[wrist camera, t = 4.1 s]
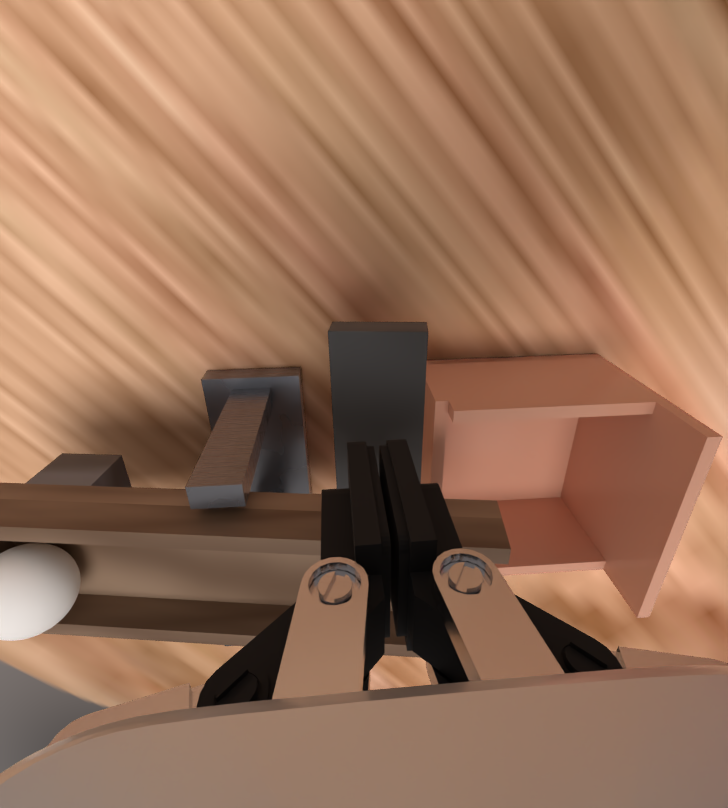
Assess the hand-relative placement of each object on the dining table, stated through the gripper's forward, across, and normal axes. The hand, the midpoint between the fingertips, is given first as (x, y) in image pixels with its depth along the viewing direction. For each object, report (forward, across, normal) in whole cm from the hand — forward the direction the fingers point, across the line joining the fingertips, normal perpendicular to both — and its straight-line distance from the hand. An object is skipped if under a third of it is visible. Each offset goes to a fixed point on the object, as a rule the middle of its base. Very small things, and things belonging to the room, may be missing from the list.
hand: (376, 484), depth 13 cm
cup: (+12, -9, +6) cm, 16 cm away
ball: (+3, +13, +6) cm, 15 cm away
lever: (+4, +6, +6) cm, 9 cm away
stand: (+13, +5, +6) cm, 15 cm away
